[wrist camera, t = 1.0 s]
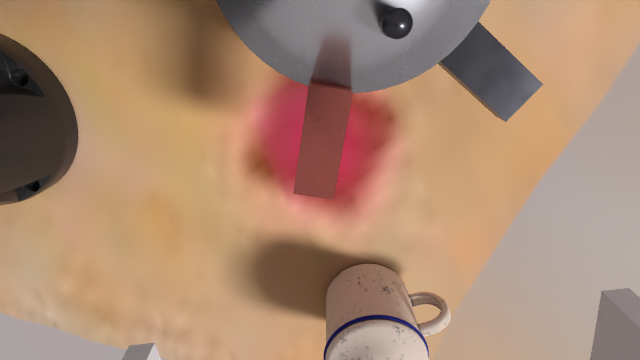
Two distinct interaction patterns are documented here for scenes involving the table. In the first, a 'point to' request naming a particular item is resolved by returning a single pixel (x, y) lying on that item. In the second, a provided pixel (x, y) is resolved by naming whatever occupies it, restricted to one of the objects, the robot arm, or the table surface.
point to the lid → (346, 59)
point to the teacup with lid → (377, 316)
